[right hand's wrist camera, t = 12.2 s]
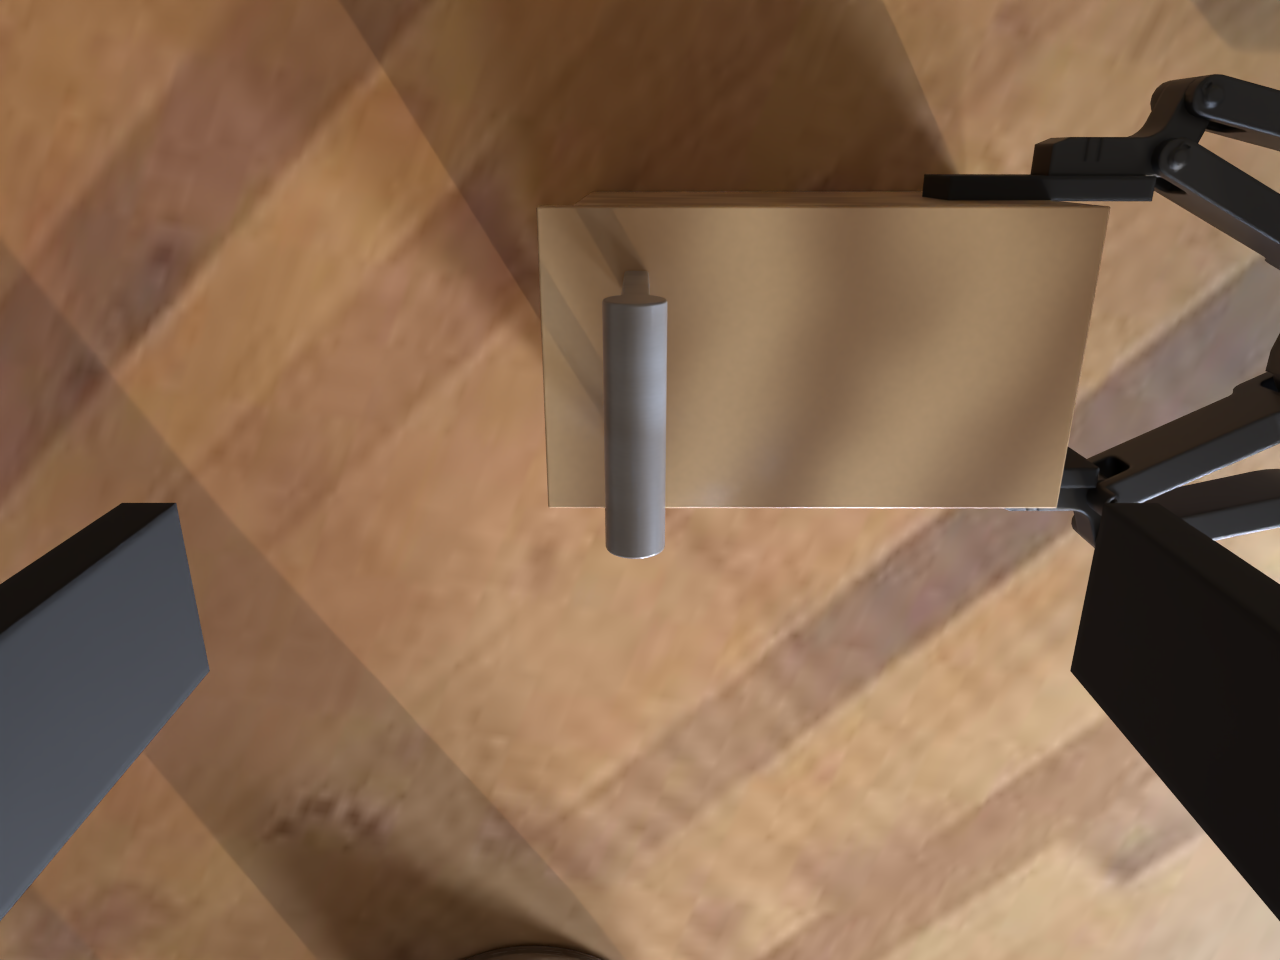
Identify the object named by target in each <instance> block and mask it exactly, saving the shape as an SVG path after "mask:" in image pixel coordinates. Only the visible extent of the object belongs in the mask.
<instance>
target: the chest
mask: <svg viewBox="0 0 1280 960" xmlns="http://www.w3.org/2000/svg"><path fill="white" fill-rule="evenodd" d="M922 193H923V192H591V193H590V194H588V195H587V196H586V197H584V198H583V199H581V200H580V201H579V202H577V203H576V204H574V205H1089V204H1080V203H1070V202H1061V201H1052V200H942V199H935V198H928V197H922Z"/></svg>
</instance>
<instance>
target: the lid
mask: <svg viewBox="0 0 1280 960" xmlns="http://www.w3.org/2000/svg"><path fill="white" fill-rule="evenodd" d="M1109 213H1110V207H1109V206H1099V205H540V206H538V207H537V232H538V257H539V282H540V308H541V333H542V358H543V384H544V409H545V434H546V460H547V485H548V506H549V508H605V534H606V548H607V550H608V551H609V552H610V553H612V554H613V555H616V556H619V557H623V558H631V559H640V558H647V557H651V556H654V555H657V554H659V553H660V552H661V551H662V550H663V549H664V547H665V508H1056V507H1057V503H1058V497H1059V492H1060V486H1061V480H1062V475H1063V469H1064V464H1065V458H1066V453H1067V447H1068V441H1069V436H1070V430H1071V425H1072V419H1073V413H1074V408H1075V402H1076V397H1077V391H1078V386H1079V380H1080V374H1081V369H1082V363H1083V358H1084V352H1085V347H1086V341H1087V335H1088V330H1089V324H1090V319H1091V313H1092V307H1093V302H1094V296H1095V291H1096V285H1097V280H1098V274H1099V268H1100V263H1101V257H1102V252H1103V246H1104V241H1105V235H1106V229H1107V224H1108V218H1109Z"/></svg>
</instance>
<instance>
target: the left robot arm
mask: <svg viewBox="0 0 1280 960" xmlns="http://www.w3.org/2000/svg"><path fill="white" fill-rule="evenodd" d="M1150 104H1151V111H1152V112H1151V113H1150V115H1149V117H1148V119H1147V121H1146V123H1145V124H1144V126H1143V127H1142V128H1141V129H1140V130H1139V131H1138V132H1137V133H1135V134H1134V135H1132V136H1129V137H1064V138H1050V139H1048V140H1045V141H1043V142H1040V143H1038V144H1035V148H1034V155H1033V162H1032V169H1031V175H996V174H925V175H924V184H923V193H922V197H928V198H935V199H942V200H1052V201H1152V197H1153V192H1154V191H1156V192H1157V193H1159V194H1161V195H1162V196H1164V197H1166V198H1167V199H1169V200H1171V201H1172V202H1174V203H1176V204H1177V205H1179V206H1181V207H1182V208H1184V209H1186V210H1187V211H1189V212H1191V213H1192V214H1194V215H1196V216H1197V217H1199V218H1201V219H1202V220H1204V221H1206V222H1207V223H1209V224H1211V225H1212V226H1214V227H1216V228H1217V229H1219V230H1221V231H1222V232H1224V233H1226V234H1227V235H1229V236H1231V237H1232V238H1234V239H1236V240H1237V241H1239V242H1241V243H1242V244H1244V245H1246V246H1247V247H1249V248H1251V249H1252V250H1254V251H1256V252H1257V253H1259V254H1261V255H1262V256H1264V257H1265V258H1266V259H1265V261H1266V262H1267V263H1269V264H1270V265H1272V266H1274V267H1275V268H1277V269H1279V270H1280V194H1279V193H1277V192H1276V191H1274V190H1272V189H1271V188H1269V187H1267V186H1266V185H1264V184H1263V183H1261V182H1259V181H1258V180H1256V179H1254V178H1253V177H1251V176H1250V175H1248V174H1246V173H1245V172H1243V171H1241V170H1240V169H1238V168H1237V167H1235V166H1233V165H1232V164H1230V163H1228V162H1227V161H1225V160H1224V159H1222V158H1220V157H1219V156H1217V155H1216V154H1214V153H1212V152H1211V151H1209V150H1207V149H1206V148H1204V147H1203V146H1201V145H1199V144H1198V142H1199V141H1200V139H1201V137H1202V135H1203V133H1204V131H1207V132H1210V133H1214V134H1218V135H1221V136H1225V137H1229V138H1233V139H1236V140H1240V141H1244V142H1247V143H1251V144H1255V145H1259V146H1262V147H1266V148H1270V149H1273V150H1277V151H1280V90H1276V89H1272V88H1269V87H1265V86H1261V85H1258V84H1254V83H1251V82H1247V81H1243V80H1240V79H1236V78H1232V77H1229V76H1225V75H1219V74H1213V75H1206V76H1199V77H1192V78H1185V79H1179V80H1172V81H1168V82H1165V83H1162V84H1161V85H1160V86H1159V87H1158V88H1157V89H1156V90H1155V92H1154V93H1153V95H1152V98H1151V103H1150ZM1266 371H1267V372H1266V373H1264V374H1262V375H1260V376H1257V377H1255V378H1253V379H1251V380H1248V381H1246V382H1244V383H1242V384H1239V385H1238V386H1236V387H1235V388H1234V389H1233V394H1232V395H1230V396H1228V397H1226V398H1224V399H1221V400H1219V401H1217V402H1215V403H1212V404H1210V405H1208V406H1206V407H1203V408H1201V409H1199V410H1197V411H1194V412H1192V413H1190V414H1188V415H1185V416H1183V417H1181V418H1179V419H1176V420H1174V421H1172V422H1169V423H1167V424H1165V425H1163V426H1160V427H1158V428H1156V429H1154V430H1151V431H1149V432H1147V433H1145V434H1142V435H1140V436H1138V437H1136V438H1133V439H1131V440H1129V441H1127V442H1124V443H1122V444H1120V445H1118V446H1115V447H1113V448H1111V449H1108V450H1106V451H1104V452H1102V453H1099V454H1097V455H1095V456H1093V457H1090V458H1088V459H1085V458H1084V457H1082V456H1081V455H1080V454H1078V453H1077V452H1075V451H1074V450H1072V449H1071V448H1069V447H1067V453H1066V458H1065V464H1064V469H1063V475H1062V480H1061V486H1060V492H1059V497H1058V503H1057V507H1056V508H1004V509H1007V510H1010V511H1025V510H1027V511H1036V510H1038V511H1074V516H1073V518H1072V523H1071V524H1072V527H1073V529H1074V530H1075V531H1076V532H1077V533H1078V534H1079V535H1080V536H1081V537H1083V538H1084V539H1085V540H1086V541H1087V542H1088V543H1090V544H1091V545H1092V546H1093V547H1094V548H1095V545H1096V540H1097V535H1098V530H1099V525H1100V520H1101V515H1102V510H1103V505H1104V503H1159V504H1160V505H1162V506H1163V507H1165V508H1166V509H1168V510H1169V511H1171V512H1172V513H1174V514H1175V515H1177V516H1178V517H1180V518H1181V519H1183V520H1184V521H1186V522H1187V523H1189V524H1190V525H1192V526H1193V527H1195V528H1196V529H1198V530H1199V531H1201V532H1202V533H1204V534H1205V535H1207V536H1208V537H1210V538H1211V539H1213V540H1219V539H1224V538H1229V537H1234V536H1239V535H1244V534H1249V533H1254V532H1258V531H1263V530H1268V529H1273V528H1278V527H1280V469H1266V470H1259V471H1253V472H1248V473H1243V474H1239V475H1234V476H1229V477H1224V478H1220V479H1215V480H1210V481H1205V482H1201V483H1196V484H1191V485H1186V486H1182V485H1184V484H1186V483H1189V482H1191V481H1193V480H1196V479H1198V478H1200V477H1203V476H1205V475H1207V474H1210V473H1212V472H1214V471H1217V470H1219V469H1221V468H1224V467H1226V466H1228V465H1231V464H1233V463H1235V462H1238V461H1240V460H1242V459H1245V458H1247V457H1249V456H1252V455H1254V454H1256V453H1259V452H1261V451H1263V450H1265V449H1268V448H1270V447H1272V446H1275V445H1277V444H1279V443H1280V334H1279V336H1278V338H1277V340H1276V342H1275V343H1274V345H1273V347H1272V349H1271V352H1270V356H1269V360H1268V363H1267V367H1266ZM1179 486H1182V487H1179Z"/></svg>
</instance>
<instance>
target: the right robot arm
mask: <svg viewBox="0 0 1280 960" xmlns="http://www.w3.org/2000/svg"><path fill="white" fill-rule="evenodd" d="M209 671H210V670H209V665H208V660H207V655H206V650H205V645H204V640H203V635H202V630H201V625H200V620H199V615H198V610H197V605H196V600H195V595H194V590H193V585H192V580H191V575H190V570H189V565H188V560H187V555H186V550H185V545H184V540H183V535H182V530H181V525H180V520H179V515H178V510H177V505H176V503H121V504H120V505H118V506H117V507H115V508H114V509H112V510H111V511H109V512H108V513H106V514H105V515H103V516H102V517H100V518H99V519H97V520H96V521H94V522H93V523H91V524H90V525H88V526H87V527H85V528H84V529H82V530H81V531H79V532H78V533H76V534H75V535H73V536H72V537H70V538H69V539H67V540H66V541H64V542H63V543H61V544H60V545H58V546H57V547H55V548H54V549H52V550H51V551H49V552H48V553H46V554H45V555H43V556H42V557H41V558H39V559H38V560H36V561H35V562H33V563H32V564H30V565H29V566H27V567H26V568H24V569H23V570H21V571H20V572H18V573H17V574H15V575H14V576H12V577H11V578H9V579H8V580H6V581H5V582H3V583H2V584H0V921H1V920H2V918H3V917H4V916H5V915H6V914H7V912H8V911H9V910H10V909H11V908H12V906H13V905H14V904H15V903H16V902H17V900H18V899H19V898H20V897H21V896H22V894H23V893H24V892H25V891H26V890H27V888H28V887H29V886H30V885H31V884H32V883H33V881H34V880H35V879H36V878H37V877H38V875H39V874H40V873H41V872H42V871H43V869H44V868H45V867H46V866H47V865H48V863H49V862H50V861H51V860H52V859H53V857H54V856H55V855H56V854H57V853H58V851H59V850H60V849H61V848H62V847H63V845H64V844H65V843H66V842H67V841H68V839H69V838H70V837H71V836H72V835H73V834H74V832H75V831H76V830H77V829H78V828H79V826H80V825H81V824H82V823H83V822H84V820H85V819H86V818H87V817H88V816H89V814H90V813H91V812H92V811H93V810H94V808H95V807H96V806H97V805H98V804H99V802H100V801H101V800H102V799H103V798H104V796H105V795H106V794H107V793H108V792H109V790H110V789H111V788H112V787H113V786H114V785H115V783H116V782H117V781H118V780H119V779H120V777H121V776H122V775H123V774H124V773H125V771H126V770H127V769H128V768H129V767H130V765H131V764H132V763H133V762H134V761H135V759H136V758H137V757H138V756H139V755H140V753H141V752H142V751H143V750H144V749H145V747H146V746H147V745H148V744H149V743H150V741H151V740H152V739H153V738H154V737H155V736H156V734H157V733H158V732H159V731H160V730H161V728H162V727H163V726H164V725H165V724H166V722H167V721H168V720H169V719H170V718H171V716H172V715H173V714H174V713H175V712H176V710H177V709H178V708H179V707H180V706H181V704H182V703H183V702H184V701H185V700H186V698H187V697H188V696H189V695H190V694H191V692H192V691H193V690H194V689H195V688H196V687H197V685H198V684H199V683H200V682H201V681H202V679H203V678H204V677H205V676H206V675H207V673H208V672H209ZM1070 671H1071V672H1072V673H1073V675H1074V676H1075V677H1076V678H1077V679H1078V681H1079V682H1080V683H1081V684H1082V685H1083V687H1084V688H1085V689H1086V690H1087V691H1088V693H1089V694H1090V695H1091V696H1092V697H1093V698H1094V700H1095V701H1096V702H1097V703H1098V704H1099V706H1100V707H1101V708H1102V709H1103V710H1104V712H1105V713H1106V714H1107V715H1108V716H1109V718H1110V719H1111V720H1112V721H1113V722H1114V724H1115V725H1116V726H1117V727H1118V728H1119V730H1120V731H1121V732H1122V733H1123V734H1124V736H1125V737H1126V738H1127V739H1128V740H1129V741H1130V743H1131V744H1132V745H1133V746H1134V747H1135V749H1136V750H1137V751H1138V752H1139V753H1140V755H1141V756H1142V757H1143V758H1144V759H1145V761H1146V762H1147V763H1148V764H1149V765H1150V767H1151V768H1152V769H1153V770H1154V771H1155V773H1156V774H1157V775H1158V776H1159V777H1160V779H1161V780H1162V781H1163V782H1164V783H1165V785H1166V786H1167V787H1168V788H1169V789H1170V790H1171V792H1172V793H1173V794H1174V795H1175V796H1176V798H1177V799H1178V800H1179V801H1180V802H1181V804H1182V805H1183V806H1184V807H1185V808H1186V810H1187V811H1188V812H1189V813H1190V814H1191V816H1192V817H1193V818H1194V819H1195V820H1196V822H1197V823H1198V824H1199V825H1200V826H1201V828H1202V829H1203V830H1204V831H1205V832H1206V834H1207V835H1208V836H1209V837H1210V838H1211V839H1212V841H1213V842H1214V843H1215V844H1216V845H1217V847H1218V848H1219V849H1220V850H1221V851H1222V853H1223V854H1224V855H1225V856H1226V857H1227V859H1228V860H1229V861H1230V862H1231V863H1232V865H1233V866H1234V867H1235V868H1236V869H1237V871H1238V872H1239V873H1240V874H1241V875H1242V877H1243V878H1244V879H1245V880H1246V881H1247V883H1248V884H1249V885H1250V886H1251V887H1252V888H1253V890H1254V891H1255V892H1256V893H1257V894H1258V896H1259V897H1260V898H1261V899H1262V900H1263V902H1264V903H1265V904H1266V905H1267V906H1268V908H1269V909H1270V910H1271V911H1272V912H1273V914H1274V915H1275V916H1276V917H1277V918H1278V920H1279V921H1280V584H1278V583H1277V582H1275V581H1274V580H1272V579H1271V578H1269V577H1268V576H1266V575H1265V574H1263V573H1262V572H1260V571H1259V570H1257V569H1256V568H1254V567H1253V566H1251V565H1250V564H1248V563H1247V562H1245V561H1244V560H1242V559H1241V558H1239V557H1238V556H1237V555H1235V554H1234V553H1232V552H1231V551H1229V550H1228V549H1226V548H1225V547H1223V546H1222V545H1220V544H1219V543H1217V542H1216V541H1214V540H1213V539H1211V538H1210V537H1208V536H1207V535H1205V534H1204V533H1202V532H1201V531H1199V530H1198V529H1196V528H1195V527H1193V526H1192V525H1190V524H1189V523H1187V522H1186V521H1184V520H1183V519H1181V518H1180V517H1178V516H1177V515H1175V514H1174V513H1172V512H1171V511H1169V510H1168V509H1166V508H1165V507H1163V506H1162V505H1160V504H1159V503H1104V505H1103V510H1102V515H1101V520H1100V525H1099V530H1098V535H1097V540H1096V545H1095V550H1094V555H1093V560H1092V565H1091V570H1090V575H1089V580H1088V585H1087V590H1086V595H1085V600H1084V605H1083V610H1082V615H1081V620H1080V625H1079V630H1078V635H1077V640H1076V645H1075V650H1074V655H1073V660H1072V665H1071V670H1070ZM466 960H602V959H599V958H597V957H594V956H591V955H588V954H585V953H582V952H578V951H574V950H569V949H564V948H557V947H549V946H518V947H508V948H503V949H497V950H493V951H489V952H485V953H482V954H479V955H476V956H473V957H471V958H468V959H466Z"/></svg>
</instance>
